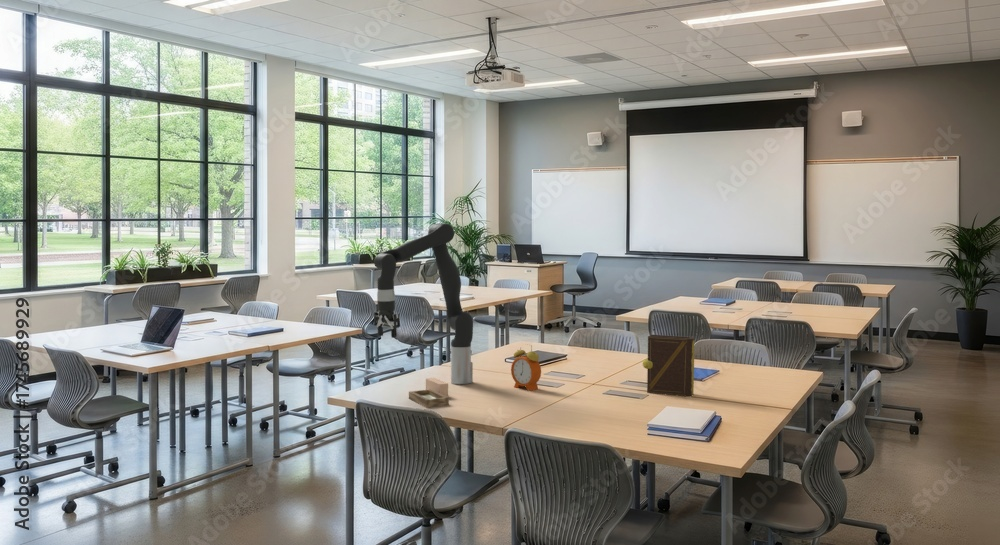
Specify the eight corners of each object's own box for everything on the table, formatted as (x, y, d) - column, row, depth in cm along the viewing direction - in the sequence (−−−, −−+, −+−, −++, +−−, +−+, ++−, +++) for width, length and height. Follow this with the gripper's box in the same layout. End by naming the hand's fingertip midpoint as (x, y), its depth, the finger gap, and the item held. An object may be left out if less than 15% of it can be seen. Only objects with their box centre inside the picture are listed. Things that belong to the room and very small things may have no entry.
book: (694, 393, 338) (695, 336, 336) (690, 397, 330) (691, 339, 328) (645, 388, 347) (645, 333, 345) (640, 392, 339) (641, 336, 338)
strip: (433, 391, 343) (433, 377, 343) (448, 397, 331) (448, 383, 331) (425, 392, 341) (425, 378, 341) (439, 398, 329) (439, 384, 329)
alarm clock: (510, 387, 350) (510, 343, 349) (519, 385, 355) (519, 341, 353) (532, 391, 341) (532, 346, 340) (541, 389, 346) (541, 345, 344)
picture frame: (430, 396, 332) (430, 389, 332) (448, 404, 317) (448, 397, 316) (408, 398, 327) (408, 391, 327) (426, 407, 312) (426, 400, 311)
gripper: (403, 299, 332) (404, 337, 334) (381, 297, 342) (382, 334, 343) (390, 301, 327) (391, 339, 328) (368, 299, 336) (369, 336, 337)
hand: (387, 336), depth 335 cm, fingers open, 8 cm apart
